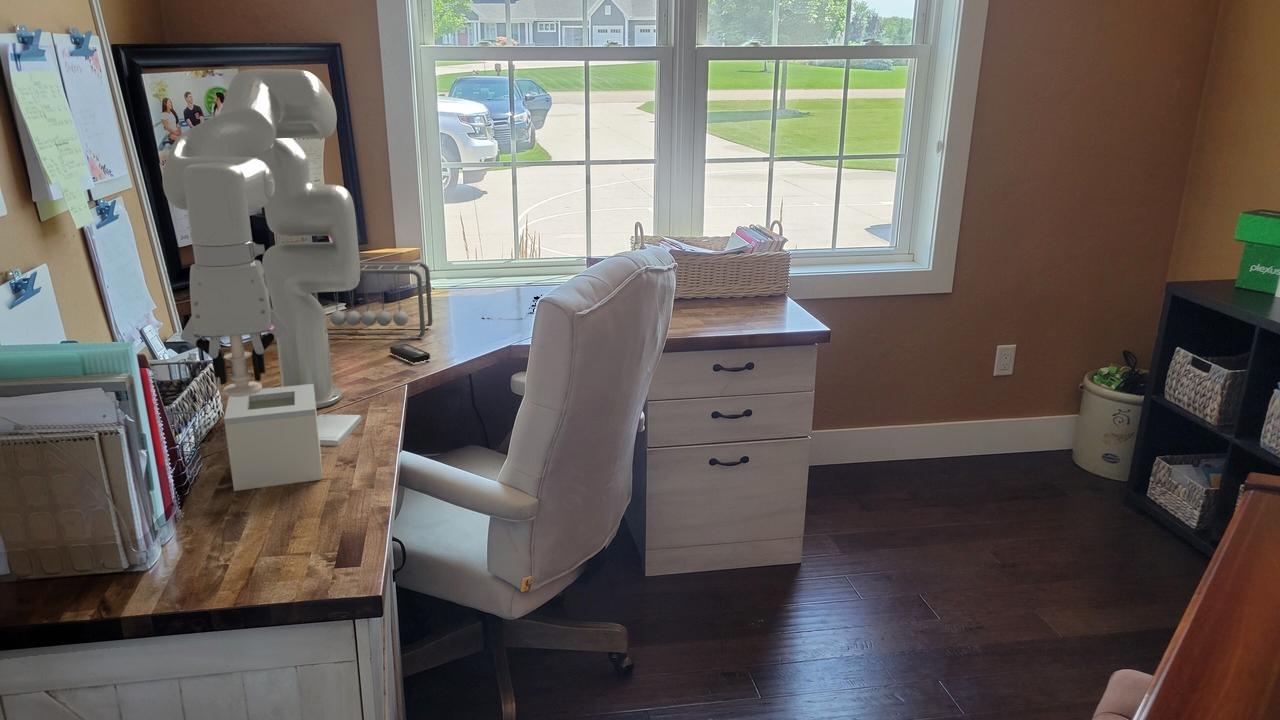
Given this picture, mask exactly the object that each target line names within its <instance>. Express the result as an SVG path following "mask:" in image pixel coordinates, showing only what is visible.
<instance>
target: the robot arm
mask: <svg viewBox="0 0 1280 720" xmlns="http://www.w3.org/2000/svg"><path fill="white" fill-rule="evenodd" d="M337 117H338V116H337V110H336V105H335V102H334V99H333V97H332V96H331V94H330V92H329V91H328V90H327V88H326V87H325V85H324V83H323V82H322V81H321V80H320V78H318V77H317V76H316V75H314V73H311V72H310V71H307V70H305V69H304V70H303V69H294V68H293V69H289V68H288V69H283V68H281V69H279V68H278V69H277V68H275V69H274V68H251V69H250V68H249V69H246V70H242V71H240V72H239V73H237V74H236V75H234V76H233V78H232V79H231V81H230V83H229V86H228V88H227V91H226V94H225V97H224V99H223V102H222V105H221V108H220V111H219V113H218V114H217V115H215V116H212V117H209V118H207V119H206V120H204V121H202V122H200V123H199V124H196V125H195V126H192V127H191V128H189V129H188V130H186V131H184V132H183V133H181V134H180V135H179V136H177V137H176V139H175V140H174V142H173V143H172V146H171V147H170V150H169V152H168V155H167V157H166V160H165V162H164V167H163V170H162V171H163V172H162V189H163V192H164V195H165V197H166V199H167V200H168V202H169V203H170V204H171V205H172V206H174V207H175V208H177V209H180V210H183V211H187V216H188V222H189V229H190V237H191V244H192V250H193V257H194V263H193V264H191V265H190V267H189V268H190V270H189V295H190V296H189V298H190V299H189V301H190V309H191V310H190V312H191V316H190V318H189V320H188V322H187V323H186V324H185V327H184V329H183V330H182V332H181V334H180V340H182V341H183V342H186V343H188V344H190V345H194V346H195V347H197V348H198V349H200V350H201V351H203V352H204V353H206V354H207V356H209V357H210V358H211V359H212V360H211V361H212V365H213V367H212V368H213V371H214V372H213V373H214V377H215V379H216V378H217V379H218V378H219V381H220V385H222V386H223V385H226V384H227V382H228V379H229V375H228V369H227V363H226V359H224V358H223V357H224V356H225V355H226V354H225V352H223V350H222V349H221V337H230V336H237V335H242V336H248V335H249V338H250V341H251V343H252V346H253V347H252V352H251V353H252V356H251V360H252V367H253V377H254V381H255V382H261V380H262V379H261V378H262V374H265V373H266V364H265V358H264V352H265V351H266V349H267V348H268V347H269V346H270V345H271V344H272V343H273V342H274V340H276V347H277V348H276V349H277V355H278V362H279V364H278V365H279V373H280V379H281V383H280V384H281V387H286V386H296V385H307V384H314V392H315V402H316V410H317V409H320V408H326V407H328V406H332V405H334V404H336V403H338V402H339V401H340V400H341V399H342V398H343V391H342V390H341V388H339V387H338V386H335V385H334V382H333V381H334V380H333V371H332V362H331V352H330V350H331V349H330V342H329V341H330V339H328V335H329V331H328V330H329V329H327V325H328V322H327V321H328V319H327V314H326V312H325V308H324V306H322V303H320V302H319V300H318V301H317V300H316V299H315V298H314V297H313V293H315V292H317V293H330V292H333V293H335V292H336V293H337V291H338V292H349V290H350V291H352V289H353V290H354V289H356V288H357V287H358V285H359V283H360V279H361V274H360V269H361V266H360V262H361V260H360V249H359V241H358V229H357V218H356V217H357V216H356V211H355V205H354V204H355V203H354V200H353V197H352V195H351V193H350V191H349V190H348V189H347V188H345V186H342V185H340V184H339V185H338V184H313V183H312V181H311V176H310V166H309V158H308V155H307V154H306V152H305V151H304V150H303V148H302V147H301V146H300V144H299V143H298V142H297V141H296V140H322V139H324V140H325V139H327V138H329V137H331V136H332V135H333V134H334V133H335V131H336V127H337V121H338V120H337V119H338V118H337ZM262 208H264V214H265V219H266V220H265V221H266V224H267V227H268V228H269V230H270V231H271V232H272V233H274V234H276V235H279V236H285V237H286V236H287V237H288V236H289V237H307V236H308V237H309V236H311V237H314V236H327V237H328V238H330V239H331V241H323V242H320V241H319V242H313V241H309V242H308V241H307V242H306V241H305V242H304V241H303V242H301V241H299V242H284V243H277V244H275V245H272V246H270V247H268V249H267V250H265V245H264V244H258V243H256V242H254V241H253V237H252V236H253V234H252V227H251V218H250V214H249V211H255V210H259V209H262ZM260 255H263V256H262V262H261V261H260V260H259V259H255V258H257V256H260ZM272 326H273V327H272ZM271 327H272V328H271ZM263 333H265V334H263ZM262 334H263V336H262ZM207 338H209V339H207Z"/></svg>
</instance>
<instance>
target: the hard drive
mask: <svg viewBox="0 0 1280 720" xmlns="http://www.w3.org/2000/svg"><path fill="white" fill-rule="evenodd" d="M317 421H318V430H319V440H320V446H333V447H334V446H336V447H338V446H339V445H340V444H342V442H343V441H344V440H345V439H346V438H347V437H348V436H349V434H350V433H352V432H353V431H354V429H355V428H356V427H357V426H358V425H359V424H360V423H361V422H362V416H361V415H360V414H326V413H325V414H322V413H321V414H319V415H317Z"/></svg>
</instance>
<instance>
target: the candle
mask: <svg viewBox="0 0 1280 720" xmlns="http://www.w3.org/2000/svg"><path fill="white" fill-rule="evenodd" d="M229 343H230V351H231V352H230V353H226V354H224V355H225V356H224V357H223V358H224V359H225V361H226V360H227V361H229V362H230V364H231V366H230V368H231V372H232V373H231V374H229V375H228V379H229V380H230V381H233V383H230V384H228V385H226V386H224V387H223V388H222V393H223V395H224V396H226V397H229V396H230V397H242V396H249V395H253V394H256V393H258V392H260V391H261V390H262V389H263V385H262V383H260V382H259V381H250V379H252V378H253V377H254V372H252V371H249V364H248V359H250V358H252V352H251V351H245V348H244V347H245V346H244V342H243V335H237V336H229Z"/></svg>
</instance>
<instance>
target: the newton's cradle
mask: <svg viewBox="0 0 1280 720" xmlns="http://www.w3.org/2000/svg"><path fill="white" fill-rule="evenodd" d="M360 267H363V268H360V275H361V277H362V283H363V290H364V291H363V292H364V297H365V304H366V310H365V311H364V312H363V313H362V314H361V313H359V312H358V311H356V310H354V309H353V302H352V301H354V289H352V290H349V291H348V294H349V299H350V307H351V311H348V312H347V313H346V315H345V313H344V312H343V311H342V310H339V299H338V298H339V295H338V294H339V293H338V292H339V291H337V292H336V294H335V292H333V297H334V301H335V302H334V304H335V311H334V312H332V313H331V315H330V319H329V320H330V321H331V323H332V324H331V326H333V325H334V326H341V325H344V324H345V323H347V325H352V326H355V325H359V324H360V323H361V322H362V324H363V325H367V326H370V325H375V324H376V322H377V323H378V325H379V326H420V330H421V331H420V330H419V332H420V334H418V333H417V334H418V335H417V334H365V335H366V336H378V335H379V336H404V337H405V336H406V337H407V336H417V337H422V336H423V337H424V335H425V334H426V329H425V326H431V327H432V325H433V309H432V308H433V306H432V305H433V303H432V294H431V293H432V291H431V274H430V267H429V266H428V265H427V264H426V263H424V262H421V261H360ZM368 267H379V268H368ZM384 267H396V268H384ZM399 267H413V268H407V269H406V268H399ZM418 267H420V268H423V270H424V275H425V276H424V277H425V292H426V293H425V294H426V308H427V311H426V312H427V324H426V323H425V322H426V321H425V310H424V309H425V308H424V305H425V304H424V292H423V278H422V275H421V272H419V271H418V270H416V269H417V268H418ZM365 274H366V284H367V285H366V286H367V288H365V282H364V275H365ZM368 274H369V275H371V274H372V275H375V274H377V278H378V286H379V288H381V284H380V276H379V275H382V279H384V275H391V274H392V275H393V279H394V286H395V292H396V299H397V300H398V301H397V305H398V311H396V312H395V313H394V315H391V313H390V312H388V311H387V310H385V300H384V299H385V296H384V289H379V294H380V301H381V302H380V303H382V304H381V308H382V311H379V312H378V313H377V314H375V313H374V312H373V311H371V310H369V309H370V308H369V301H370V300H368V299H367V295H366V289H367V290H369V276H368ZM395 275H397V279H398V280H397V282H398V284H400V276H399V275H414V276H415V277H416V282H417V298H418V313H419V314H418V315H419V325H417V324H416V325H415V324H414V325H411V324H407V323H408V322H409V315H408V313H407V312H405V311H403V310H402V309H401V308H402V307H401V306H400V302H401V295H400V294H401V293H400V289H398V288H397V283H396V278H395ZM381 290H382V291H381ZM351 293H352V295H351ZM312 295H313V297H314V298H315V299H316V300H317V301H318V302H319V299H318V298H319V297H318V292H315V293H312ZM335 295H336V296H335ZM398 295H399V296H398ZM351 296H352V297H351ZM392 317H393V318H392ZM392 321H393V322H394V324H395V325H393V324H392V325H390V324H391V322H392ZM347 335H348V334H328V336H347ZM356 335H357V336H358V335H359V334H356ZM423 337H422V338H423Z"/></svg>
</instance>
